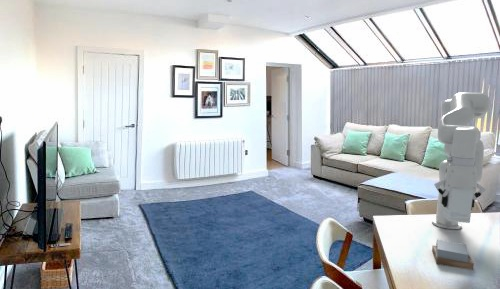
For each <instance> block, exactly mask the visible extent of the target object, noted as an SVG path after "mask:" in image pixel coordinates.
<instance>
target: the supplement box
mask: <svg viewBox="0 0 500 289" xmlns="http://www.w3.org/2000/svg"><path fill="white" fill-rule="evenodd" d="M472 199H473V190H472V189H462V188H451V192H449V193H448V194H447V206H446V207H444V208H443V216H444V217H445V218H446V219H447V220H448V221H453V222H459V223H464V224H465V223H466V224H470V222H471V217H472V216H471V214H472V210H471V208H472V209H473V207H472Z"/></svg>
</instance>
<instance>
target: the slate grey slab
mask: <svg viewBox="0 0 500 289" xmlns="http://www.w3.org/2000/svg"><path fill="white" fill-rule="evenodd" d="M435 246H436V251H437V257H441V258H447V259H452V260H457V261H462V262H467V263H468V256H470V254H469V252H468V248H467V244H465V243H460V242H453V241H450V240H443V239H438V238H436V244H435Z"/></svg>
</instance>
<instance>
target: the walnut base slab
mask: <svg viewBox="0 0 500 289" xmlns="http://www.w3.org/2000/svg"><path fill="white" fill-rule="evenodd" d="M431 252H432V254H433V257H434V258H433V259H434V260H435V262H436V265H439V266H447V267H451V268H452V267H453V268H458V269H459V268H460V269H464V270H471V271H474V267H475V263H474V261H473V260H472V258H471V256H470V255H469V256H468V263H467V262H462V261H457V260H452V259H447V258H441V257H437V251H436V245H433V244H432V250H431Z"/></svg>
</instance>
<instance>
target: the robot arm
mask: <svg viewBox="0 0 500 289" xmlns="http://www.w3.org/2000/svg"><path fill="white" fill-rule="evenodd" d="M490 106H491V100H490V97H489V95H488V94H486V93H484V92H457V93H455V94H454V95H452V96H451V98H450V99H446V100H444V101H443V102H442V104H441V114H442V117H441V118H440V120H439V122H438V124H437V126H438V127H437V139H438V141H439V142H440V144H443V145H444V148H443V150H444V152H443V153H444V155H445V156H447V157H446V158H445V160H443V161H441V162H440V163H439V166H438V178H439V181H437V182H435V183H434V187H435V188H436V189H437V191H438V194H437V195H438V196H437V204H436V213H435V214H436V216H435V217H434V218H432V219H431V223H432V225H434V226H436V227H438V228H442V229H445V230H460V229H461V228H462V222H453V221H448V220H447V219H446V218H445V217H444V216H443V208H444V207H446V206H447V194H448V193H449V192H451V188H462V189H472V190H473V199H472V208H471V211H472V210H473V208H475V201H476V200H477V198H480V196H482V195H483V193H485V191H486V188H485V187H483V186H482V185H480V184H479V182H481V180H482V177H483V167H484V154H485V147H484V146H485V145H484V142H483V140H481V137H482V136H481V135H482V132H481V131H480V129H479V127H477V126H474V125H469V124H470V123H471V122H472V121H473V120H474V119H475V120H476V119H482V118H484V117H485V116H486V114H487V113H489V110H490ZM477 190H478V191H477Z"/></svg>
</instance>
